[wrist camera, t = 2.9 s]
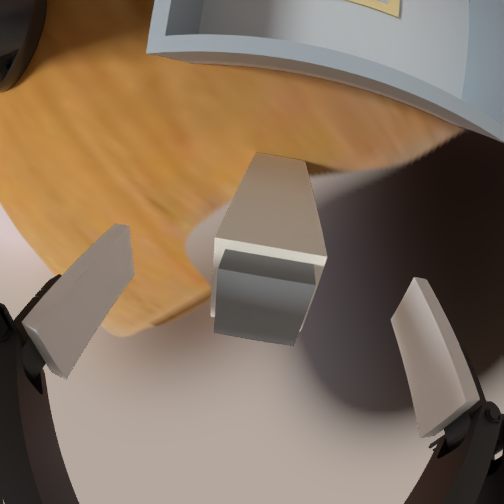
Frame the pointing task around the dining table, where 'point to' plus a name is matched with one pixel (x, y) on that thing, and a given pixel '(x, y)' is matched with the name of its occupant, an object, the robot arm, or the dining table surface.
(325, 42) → the walled box
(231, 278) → the connector
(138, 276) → the dining table surface
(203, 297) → the dining table surface
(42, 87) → the dining table surface
